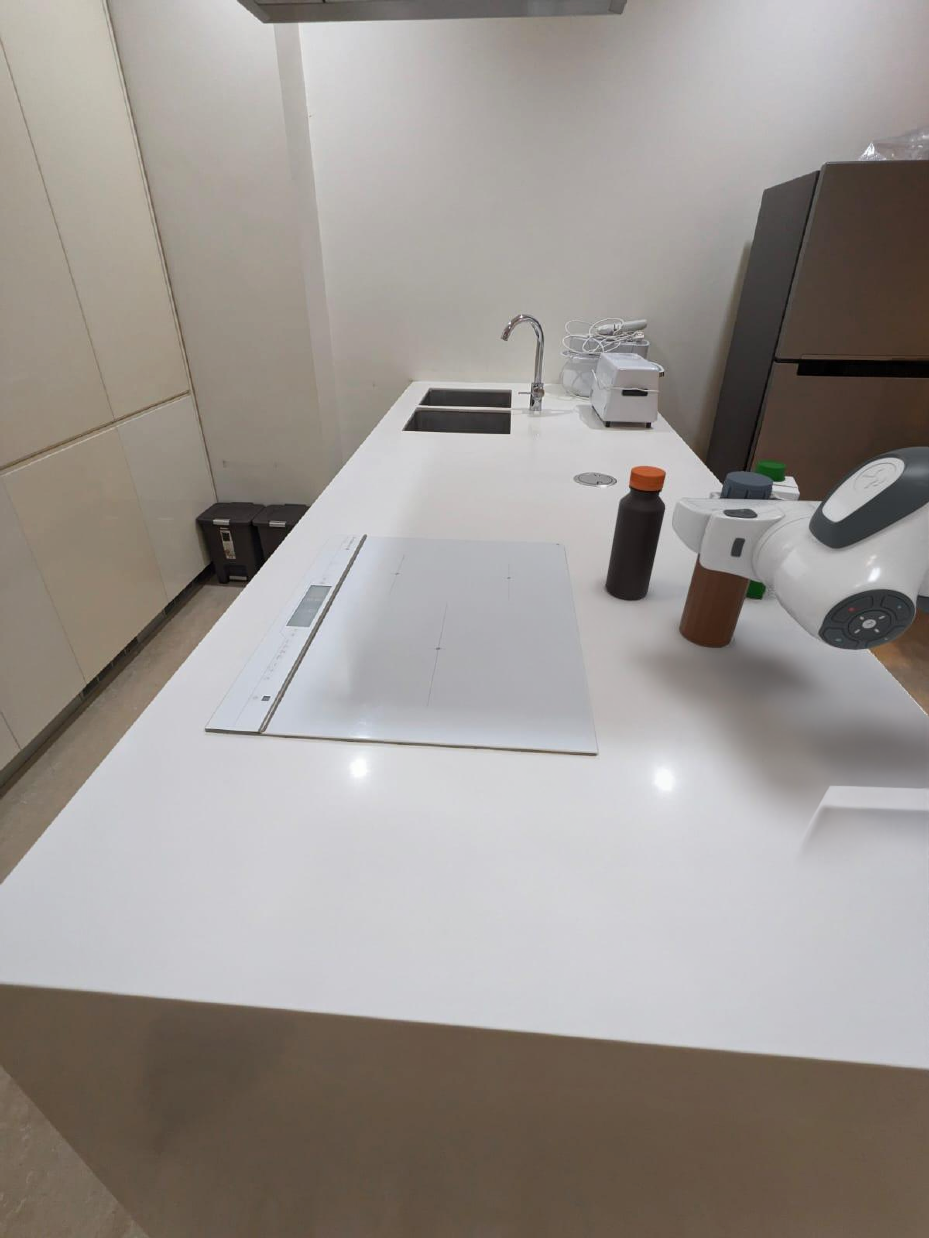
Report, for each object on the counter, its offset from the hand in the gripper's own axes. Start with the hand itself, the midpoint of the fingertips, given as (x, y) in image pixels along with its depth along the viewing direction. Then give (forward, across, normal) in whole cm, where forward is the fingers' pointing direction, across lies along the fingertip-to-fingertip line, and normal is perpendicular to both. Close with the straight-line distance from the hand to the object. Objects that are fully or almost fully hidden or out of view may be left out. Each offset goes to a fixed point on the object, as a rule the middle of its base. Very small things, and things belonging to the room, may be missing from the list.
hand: (740, 498), depth 75 cm
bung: (-1, 0, +5) cm, 5 cm away
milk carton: (+14, -10, +20) cm, 27 cm away
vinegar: (+11, +9, +20) cm, 25 cm away
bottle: (-1, 0, +20) cm, 20 cm away
